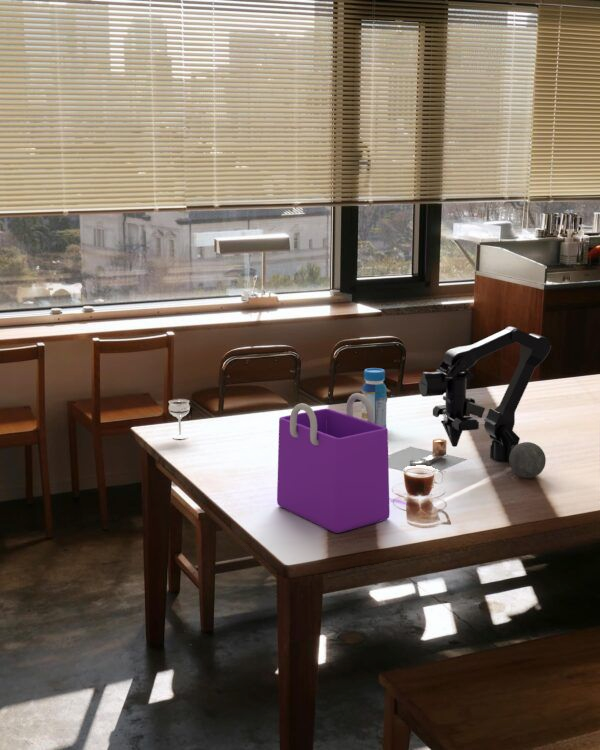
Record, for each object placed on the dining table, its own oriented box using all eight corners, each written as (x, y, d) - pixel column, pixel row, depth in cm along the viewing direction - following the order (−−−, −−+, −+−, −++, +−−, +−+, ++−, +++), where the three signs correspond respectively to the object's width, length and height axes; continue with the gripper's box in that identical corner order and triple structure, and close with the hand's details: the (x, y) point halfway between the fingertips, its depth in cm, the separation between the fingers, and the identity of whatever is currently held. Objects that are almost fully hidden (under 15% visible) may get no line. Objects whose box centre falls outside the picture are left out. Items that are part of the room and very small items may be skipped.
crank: (423, 469, 290) (423, 452, 289) (405, 465, 294) (405, 448, 293) (451, 457, 301) (452, 441, 300) (434, 453, 305) (434, 437, 304)
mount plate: (466, 462, 300) (466, 458, 300) (426, 480, 285) (426, 476, 284) (410, 449, 313) (410, 446, 313) (369, 466, 297) (369, 462, 297)
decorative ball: (518, 484, 281) (520, 449, 279) (502, 473, 290) (503, 439, 288) (551, 480, 283) (553, 446, 281) (534, 470, 293) (535, 436, 291)
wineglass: (192, 435, 330) (191, 399, 327) (188, 441, 323) (187, 404, 321) (172, 434, 331) (170, 398, 328) (167, 440, 324) (166, 403, 321)
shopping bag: (402, 514, 258) (404, 399, 252) (347, 539, 243) (347, 416, 236) (319, 490, 277) (318, 382, 270) (262, 511, 261) (260, 397, 255)
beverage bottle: (387, 433, 331) (388, 372, 326) (361, 433, 331) (361, 372, 327) (386, 426, 339) (386, 367, 335) (360, 426, 339) (360, 367, 335)
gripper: (496, 399, 285) (494, 452, 288) (467, 384, 302) (465, 435, 306) (460, 402, 282) (458, 456, 285) (432, 387, 299) (431, 438, 303)
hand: (454, 446), depth 295 cm, fingers closed
